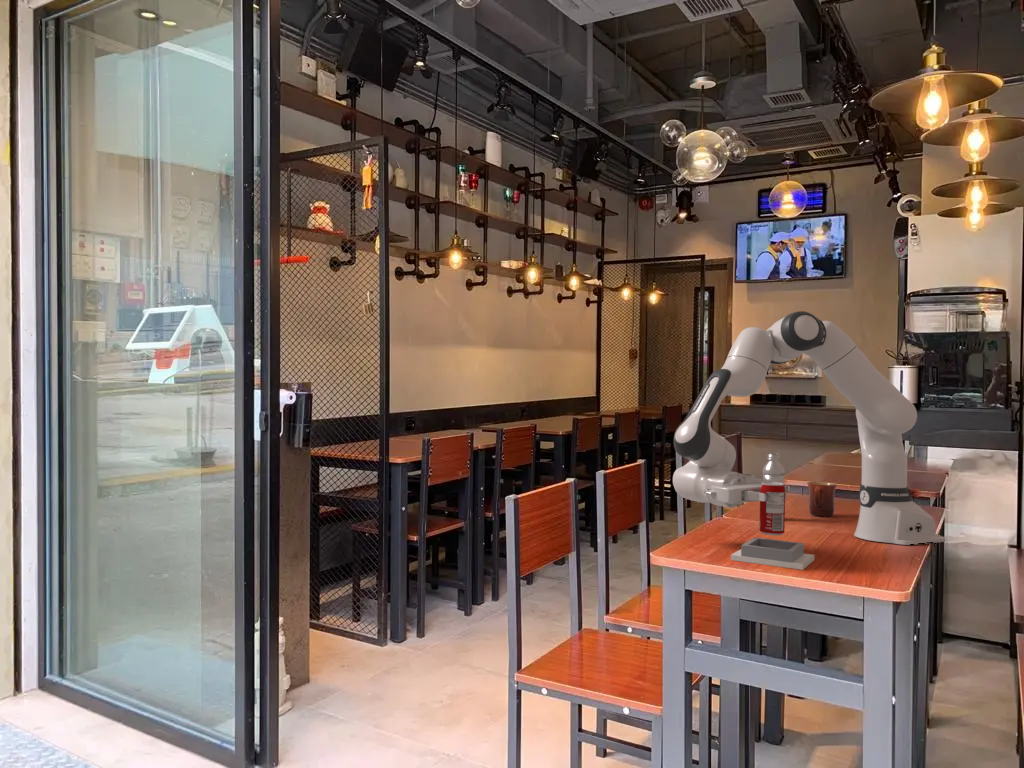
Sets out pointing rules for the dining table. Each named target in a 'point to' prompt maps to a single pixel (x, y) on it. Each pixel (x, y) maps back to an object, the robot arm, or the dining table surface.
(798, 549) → the caddy
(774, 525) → the soda can
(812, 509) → the mug
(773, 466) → the plastic bottle
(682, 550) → the dining table surface
